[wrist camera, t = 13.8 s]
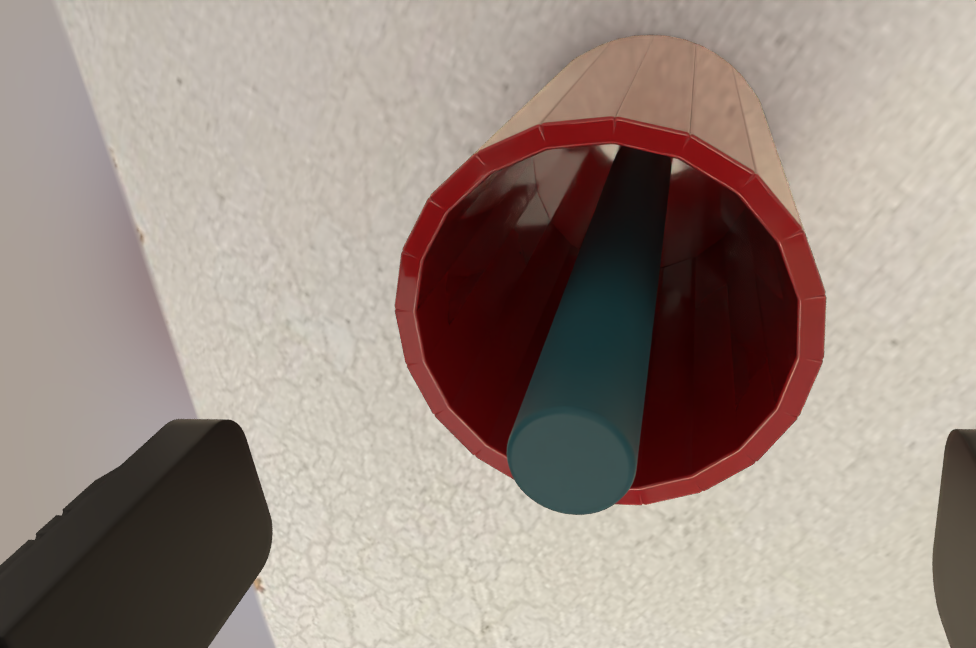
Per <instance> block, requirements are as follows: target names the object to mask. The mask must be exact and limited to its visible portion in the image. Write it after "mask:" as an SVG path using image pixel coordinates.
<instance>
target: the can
mask: <svg viewBox="0 0 976 648" xmlns="http://www.w3.org/2000/svg"><path fill="white" fill-rule="evenodd" d="M622 147H628V148H632V149H636V150H641V151H645V152H649V153H654V154H658V155H662V156H667V157H670V160H671V177H670V186H669V194H668V203H667V212H666V220H665V229H664V237H663V246H662V254H661V263H660V272H659V280H658V289H657V297H656V306H655V314H654V323H653V332H652V340H651V349H650V357H649V366H648V374H647V383H646V392H645V400H644V409H643V417H642V426H641V434H640V443H639V451H638V460H637V469H636V475H635V478H634V481H633V484H632V485H631V487H630V489H629V490H628V492H627V493H626V494H625V495H624V496H623V497H622V498H621V499H620V500H619V501H618V502H617V503H615V504H620V505H642V504H644V505H647V504H651V503H656V502H660V501H665V500H669V499H674V498H678V497H683V496H687V495H692V494H696V493H700V492H702V491H705V490H707V489H709V488H711V487H713V486H715V485H716V484H718V483H720V482H722V481H724V480H725V479H727V478H729V477H731V476H733V475H735V474H736V473H738V472H740V471H742V470H744V469H745V468H747V467H749V466H751V465H753V464H754V463H755V461H758V460H759V459H760V458H761V457H762V456H763V455H764V454H765V453H766V452H767V451H768V450H769V448H770V447H771V446H772V445H773V444H774V443H775V442H776V441H777V440H778V439H779V438H780V437H781V436H782V435H783V434H784V433H785V431H786V430H787V429H788V428H789V427H790V426H791V425H792V424H793V423H794V422H795V421H796V420H797V418H798V416H799V415H800V413H801V411H802V409H803V407H804V404H805V402H806V400H807V397H808V395H809V393H810V390H811V388H812V386H813V383H814V381H815V379H816V377H817V374H818V372H819V370H820V367H821V365H822V363H823V360H822V359H823V358H824V345H825V319H826V295H825V289H824V286H823V283H822V280H821V277H820V274H819V271H818V268H817V266H816V263H815V260H814V257H813V254H812V251H811V248H810V245H809V242H808V239H807V237H806V234H805V231H804V228H803V225H802V222H801V219H800V216H799V213H798V211H797V208H796V205H795V202H794V199H793V196H792V193H791V190H790V187H789V184H788V182H787V179H786V176H785V173H784V170H783V167H782V164H781V161H780V158H779V155H778V153H777V150H776V147H775V144H774V141H773V138H772V135H771V132H770V129H769V127H768V124H767V121H766V118H765V115H764V112H763V109H762V106H761V104H760V101H759V99H758V97H757V95H756V94H755V93H754V92H753V90H752V88H751V87H750V86H749V84H748V83H747V82H746V80H745V79H744V78H743V76H742V75H741V74H740V73H739V72H738V71H737V70H736V69H735V68H734V67H733V66H732V65H731V64H730V63H728V62H727V61H726V60H724V59H723V58H722V57H720V56H719V55H718V54H716V53H714V52H712V51H710V50H709V49H707V48H705V47H703V46H701V45H698V44H696V43H693V42H690V41H688V40H685V39H680V38H676V37H671V36H662V35H637V36H630V37H625V38H620V39H616V40H613V41H610V42H607V43H604V44H601V45H599V46H597V47H595V48H593V49H591V50H589V51H587V52H585V53H584V54H582V55H580V56H578V57H576V58H575V59H573V60H572V61H571V62H570V63H569V64H568V65H567V66H566V67H565V68H564V69H563V70H562V71H561V72H559V73H558V74H557V75H556V76H555V77H554V78H553V79H552V80H551V81H550V82H549V83H548V84H547V85H546V86H545V87H544V88H543V89H542V90H540V91H539V92H538V93H537V94H536V95H535V96H534V97H533V98H532V99H531V100H530V101H529V102H528V103H527V104H526V105H525V106H524V107H523V108H521V109H520V110H519V111H518V112H517V113H516V114H515V115H514V116H513V117H512V118H511V119H510V120H509V121H508V122H507V123H506V124H505V125H504V126H502V127H501V128H500V129H499V130H498V131H497V132H496V133H495V134H494V135H493V136H492V137H491V138H490V139H489V140H488V141H487V142H486V143H485V144H484V145H482V146H481V147H480V148H479V149H478V150H477V151H476V152H475V153H474V154H473V155H472V156H471V157H470V158H469V159H468V160H467V161H466V162H465V163H463V164H462V165H461V166H460V167H459V168H458V169H457V170H456V171H455V172H454V173H453V174H452V175H451V176H450V177H449V178H448V179H447V180H446V181H444V182H443V183H442V184H441V185H440V186H439V187H438V188H437V189H436V190H435V191H434V192H433V193H432V194H431V196H430V197H429V198H428V199H427V201H426V203H425V205H424V207H423V209H422V211H421V213H420V215H419V217H418V219H417V221H416V223H415V225H414V227H413V229H412V231H411V233H410V235H409V237H408V239H407V241H406V243H405V245H404V247H403V251H402V253H401V259H400V267H399V276H398V284H397V292H396V300H395V308H396V309H395V314H396V319H397V324H398V328H399V333H400V338H401V343H402V348H403V353H404V357H405V362H406V364H407V368H408V369H409V371H410V373H411V375H412V377H413V378H414V380H415V382H416V384H417V386H418V388H419V389H420V391H421V393H422V395H423V397H424V398H425V400H426V402H427V404H428V406H429V407H430V409H431V411H432V413H433V414H435V417H436V418H437V419H438V420H439V421H440V422H441V423H442V424H443V425H444V426H445V427H446V428H447V429H448V430H449V431H450V432H451V433H452V434H453V435H454V436H455V437H456V438H457V439H458V440H459V441H460V442H461V443H462V444H463V445H464V446H465V447H466V448H467V449H468V450H469V451H470V452H471V453H472V454H473V455H475V456H476V457H477V458H478V459H480V460H482V461H483V462H485V463H487V464H489V465H490V466H492V467H494V468H495V469H497V470H499V471H500V472H502V473H504V474H505V475H507V476H509V477H511V478H512V479H514V478H513V476H512V474H511V471H510V469H509V465H508V461H507V443H508V439H509V436H510V434H511V431H512V428H513V426H514V423H515V421H516V418H517V415H518V413H519V410H520V407H521V405H522V402H523V399H524V397H525V394H526V391H527V389H528V386H529V383H530V381H531V378H532V375H533V373H534V370H535V368H536V365H537V362H538V360H539V357H540V354H541V352H542V349H543V346H544V344H545V341H546V338H547V336H548V333H549V330H550V328H551V325H552V322H553V320H554V317H555V315H556V312H557V309H558V307H559V304H560V301H561V299H562V296H563V293H564V291H565V288H566V285H567V283H568V280H569V277H570V275H571V272H572V270H573V267H574V264H575V262H576V259H577V256H578V254H579V251H580V248H581V246H582V243H583V240H584V238H585V235H586V232H587V230H588V227H589V224H590V222H591V219H592V217H593V214H594V211H595V209H596V206H597V203H598V201H599V198H600V195H601V193H602V190H603V187H604V185H605V182H606V179H607V177H608V174H609V171H610V169H611V166H612V164H613V161H614V158H615V156H616V154H617V153H618V151H619V150H620V149H621V148H622Z"/></svg>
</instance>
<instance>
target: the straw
mask: <svg viewBox="0 0 976 648" xmlns="http://www.w3.org/2000/svg"><path fill="white" fill-rule="evenodd" d="M670 177H671V160H670V157H667V156H662V155H658V154H654V153H649V152H645V151H641V150H636V149H632V148H628V147H622V148H621V149H620V150H619V151H618V153H617V154H616V156H615V158H614V161H613V164H612V166H611V169H610V171H609V174H608V177H607V179H606V182H605V185H604V187H603V190H602V193H601V195H600V198H599V201H598V203H597V206H596V209H595V211H594V214H593V217H592V219H591V222H590V224H589V227H588V230H587V232H586V235H585V238H584V240H583V243H582V246H581V248H580V251H579V254H578V256H577V259H576V262H575V264H574V267H573V270H572V272H571V275H570V277H569V280H568V283H567V285H566V288H565V291H564V293H563V296H562V299H561V301H560V304H559V307H558V309H557V312H556V315H555V317H554V320H553V322H552V325H551V328H550V330H549V333H548V336H547V338H546V341H545V344H544V346H543V349H542V352H541V354H540V357H539V360H538V362H537V365H536V368H535V370H534V373H533V375H532V378H531V381H530V383H529V386H528V389H527V391H526V394H525V397H524V399H523V402H522V405H521V407H520V410H519V413H518V415H517V418H516V421H515V423H514V426H513V428H512V431H511V434H510V436H509V439H508V443H507V461H508V465H509V469H510V471H511V474H512V476H513V478H514V480H515V482H516V483H517V485H518V486H519V487H520V489H521V490H522V491H523V492H524V493H525V494H526V495H527V496H529V497H530V498H531V499H532V500H534V501H535V502H537V503H538V504H540V505H542V506H544V507H546V508H548V509H551V510H553V511H557V512H560V513H565V514H574V515H584V514H592V513H596V512H599V511H602V510H605V509H607V508H609V507H611V506H613V505H614V504H615V503H617V502H618V501H619V500H620V499H621V498H622V497H623V496H624V495H625V494H626V493H627V492H628V490H629V489H630V487H631V485H632V484H633V481H634V478H635V475H636V469H637V460H638V451H639V443H640V434H641V426H642V417H643V409H644V400H645V392H646V383H647V374H648V366H649V357H650V349H651V340H652V332H653V323H654V314H655V306H656V297H657V289H658V280H659V272H660V263H661V254H662V246H663V237H664V229H665V220H666V212H667V203H668V194H669V186H670Z"/></svg>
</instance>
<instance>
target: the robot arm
mask: <svg viewBox="0 0 976 648" xmlns="http://www.w3.org/2000/svg"><path fill="white" fill-rule="evenodd" d="M271 543H272V520H271V516H270V513H269V509H268V506H267V503H266V500H265V497H264V493H263V490H262V487H261V484H260V481H259V478H258V474H257V471H256V468H255V465H254V462H253V458H252V455H251V452H250V449H249V446H248V442H247V439H246V436H245V434H244V432H243V430H242V428H241V427H240V426H239V425H238V424H237V423H236V422H234V421H232V420H221V419H176V420H173V421H170V422H169V423H167V424H166V425H165V426H164V427H162V428H161V429H160V430H159V431H158V432H157V433H156V434H155V435H154V436H152V437H151V438H150V439H149V440H148V441H147V442H146V443H145V444H144V445H143V446H142V447H141V448H139V449H138V450H137V451H136V452H135V453H134V454H133V455H132V456H130V457H129V458H128V459H127V460H126V461H125V462H124V463H123V464H122V465H121V466H119V467H118V468H116V469H114V470H113V471H111V472H109V473H107V474H106V475H104V476H102V477H101V478H99V479H97V480H95V481H94V482H93V483H92V484H91V485H90V486H88V487H87V488H86V489H85V490H84V491H83V492H82V493H81V494H79V495H78V496H77V497H76V498H75V499H74V500H73V501H72V502H71V503H69V504H68V505H67V506H66V507H65V508H64V509H63V514H62V516H59V515H56V516H55V517H54V518H53V519H52V520H51V521H49V522H48V523H47V524H46V525H45V526H44V527H43V528H42V529H40V530H39V531H38V532H37V533H36V539H35V540H28V541H27V542H26V543H25V544H24V545H22V546H21V547H20V548H19V549H18V550H17V551H16V552H15V553H14V554H13V555H12V556H10V557H9V558H8V559H7V560H6V561H5V562H4V563H3V564H1V565H0V648H208V646H209V645H210V644H211V642H212V641H213V639H214V638H215V636H216V635H217V634H218V632H219V631H220V629H221V628H222V626H223V625H224V624H225V622H226V620H227V619H228V618H229V616H230V615H231V613H232V612H233V611H234V609H235V608H236V606H237V605H238V603H239V602H240V601H241V599H242V598H243V596H244V595H245V593H246V592H247V590H248V589H249V588H250V586H251V585H252V583H253V582H254V580H255V579H256V578H257V576H258V575H259V573H260V572H261V570H262V569H263V567H264V565H265V563H266V561H267V559H268V556H269V553H270V549H271ZM932 565H933V582H934V591H935V597H936V603H937V607H938V611H939V615H940V618H941V621H942V624H943V627H944V630H945V633H946V636H947V639H948V642H949V644H950V647H951V648H976V429H954V430H952V431H951V432H950V434H949V436H948V438H947V442H946V446H945V452H944V460H943V469H942V478H941V486H940V495H939V503H938V512H937V521H936V529H935V538H934V546H933V562H932Z"/></svg>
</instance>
